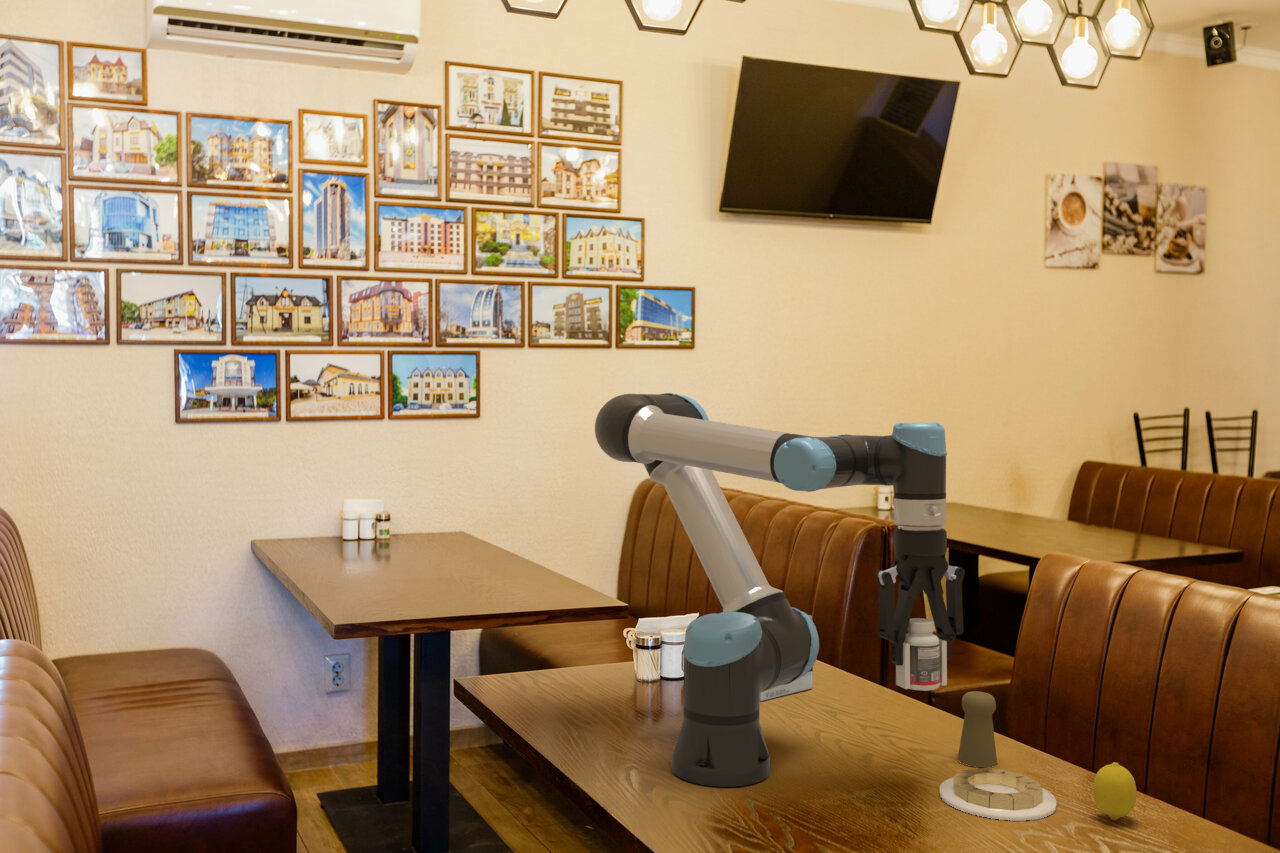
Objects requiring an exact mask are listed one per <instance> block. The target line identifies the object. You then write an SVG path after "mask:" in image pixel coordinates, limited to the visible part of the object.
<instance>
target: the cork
mask: <svg viewBox="0 0 1280 853" xmlns="http://www.w3.org/2000/svg"><path fill="white" fill-rule="evenodd" d="M961 706H962V710H963V711H964V718H963V723H962V724H963V725H962V730H961V737H960V743H959V749H958V756H957V761H958V760H959V761H960V762H961V763H964V764H967V765H970V766H976V767H991V768H993V767H992V766H995V765H996V766H997V765H998V760H997V749H996V741H995V732H994V722H993V714H994V713H995V712H996V709H997V703H996V699H995V697H994V696H993V695H992V694H990V693H988V692H984V691H976V690H974V691H968V692H966V693H965V694H964V695H963V696H962V698H961ZM959 761H958V762H959ZM960 762H959V763H960ZM961 763H960V764H961ZM970 766H969V767H970ZM996 766H995V767H996Z"/></svg>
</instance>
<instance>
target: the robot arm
mask: <svg viewBox="0 0 1280 853" xmlns="http://www.w3.org/2000/svg"><path fill="white" fill-rule="evenodd" d="M594 422H595V423H594V435H595V439H596V441H597V442H596V443H597V444H598V445H599V447H600V449H601V450H602V452H604V454H606V455H607V456H608V457H610V458H611V459H613V460H616V461H619V462H623V463H624V462H625V463H636V464H637V463H638V464H642V465H643V466H644V468H645V470H646V472H647V474H648V476H649V478H650V479H651V481H652V482H655V483H657V484H661V485H662V486H663V487H664V489H665V491H666V493H667V495H668V497H669V500H670V502H671V503H672V506H673V508H674V510H675V513H677V516H678V518H679V520H680V522H681V524H682V526H683V528H684V531H685V533H686V535H687V536H688V540H689V541H690V543H691V544H692V547H693V549H694V550H695V553H696V555H697V557H698V559H699V562H700V563H701V565H702V567H703V569H704V572H705V574H706V576H707V578H708V579H709V582H710V585H711V586H712V588H713V590H714V592H715V594H716V597H717V598H718V601H719V602H720V605H721V607H722V611H721V612H719V613H715V612H714V613H713V612H711V613H709V614H704V615H702V616H699V617H697V618H695V619H694V620H692V621H691V622H690V623H689V624H688V625H687V626H686V629H685V635H684V636H685V637H684V643H683V647H682V648H683V650H682V651H683V718H682V722H681V726H680V728H679V732H678V733H677V734H678V735H677V737H676V740H675V743H674V745H673V749H672V752H671V764H670V765H671V766H670V767H671V772H672V773H673V775H675V776H677V777H678V778H680V779H682V780H684V781H687V782H690V783H692V784H697V785H701V786H702V785H703V786H710V787H720V788H721V787H722V788H724V787H726V788H727V787H728V788H729V787H743V786H750V785H753V784H757V783H759V782H760V783H761V781H764V780H766V779H767V778H768V777H769V776H770V773H771V756H770V753H769V749H768V747H767V744H766V740H765V736H764V733H763V729H762V726H761V722H760V706H761V705H760V704H761V703H760V702H761V701H760V692H763V691H766V690H769V689H771V688H774V687H777V686H780V685H786V684H790V683H792V682H793V681H795V680H797V679H798V678H800V677H802V676H804V675H805V674H806V673H808V672H809V671H810V670H811V668H812V667H814V665H815V663H816V661H817V658H818V654H819V650H820V639H819V634H818V630H817V627H816V625H815V623H814V622H813V621H812V620H811V619H810V617H809V616H808V615H809V614H808V613H806V612H804V611H803V610H802V611H801V610H800V609H798V608H796V607H792V606H791V604H790V602H789V600H788V599H787V597H786V594H785V593H784V591H783V590H782V589H778V588H775V587H773V586H772V585H770V584H769V582H768V580H767V578H766V575H765V574H764V572H763V570H762V567H761V566H760V564H759V562H758V560H757V558H756V555H755V554H754V552H753V550H752V548H751V545H750V543H749V541H748V540H747V537H746V535H745V534H744V532H743V529H742V528H741V526H740V524H739V522H738V520H737V518H736V516H735V514H734V512H733V510H732V508H731V506H730V503H729V502H728V500H727V498H726V496H725V494H724V492H723V490H722V488H721V487H720V484H719V483H718V480H717V478H716V476H715V475H714V472H713V471H715V472H719V473H724V474H731V475H737V476H742V477H745V478H746V477H747V478H752V479H757V480H758V479H759V480H762V481H768V482H774V483H779V484H782V485H783V486H784V487H786V488H787V489H789V490H792V491H796V492H808V493H810V492H816V491H819V490H825V489H826V490H827V489H834V488H842V487H848V486H849V487H851V486H885V487H888V486H892V488H893V489H892V490H893V524H895V525H896V526H897V527H896V528H895V529H894V530H893V551H894V555H895V556H894V557H895V558H894V561H893V564H892V567H890V568H888V569H885V570H877V571H876V572H875V576H876V577H875V578H876V580H877V584H878V621H877V622H878V627H877V628H878V630H877V633H878V636H879V637H880V638H883V639H885V640H887V641H889V642H890V651H891V652H890V661H891V663H892V664H893V665H895V686H898V687H900V688H902V689H905V690H909V689H910V644H908V643H906V642H904V641H905V638H906V634H908V631H907V629H908V625H909V621H910V619H911V615H912V611H913V607H914V602H915V599H917V597H918V594H919V592H923V593H924V594H925V595H926V598H927V601H928V605H929V609H930V613H931V617H932V620H933V621H934V628H935V629H934V630H935V632H936V636H937V637H938V638H939V643H940V644H939V649H940V686H943V687H944V686H948V668H947V667H948V663H947V662H950V661H951V659H952V642H954V641H955V640H956V636H958V635H959V636H960V635H961V636H962V635H963V634H964V607H963V586H962V585H963V580H964V578H965V577H964V576H965V574H966V571H965V568H963V567H958V566H955V565H949V563H948V560H947V559H946V555H947V554H946V553H947V552H948V547H947V546H948V540H947V539H948V537H947V536H948V535H947V534H948V532H947V530H946V529H945V528H943V527H944V526H945V525H946V524H947V455H948V451H947V443H946V433H945V431H946V430H945V428H944V426H943V424H941V423H939V422H937V421H935V422H933V421H931V422H925V421H924V422H923V421H921V422H919V421H918V422H916V421H915V422H910V421H909V422H897V423H896V422H895V424H894V425H893V428H892V432H891V434H889V435H860V434H859V435H857V434H855V435H853V434H838V435H828V436H827V437H826V436H821V437H820V436H811V435H810V436H809V435H804V434H798V433H797V434H796V433H790V432H783V431H778V430H777V431H776V430H771V429H763V428H757V427H750V426H745V425H744V426H743V425H738V424H732V423H726V422H721V421H719V422H718V421H714V420H713V421H712V420H710V419H709V416H708V414H707V412H706V411H705V409H704V408H703V407H702V406H701V404H699V403H698V402H697V401H696V400H695V399H693V398H692V397H689V396H686V395H682V394H678V393H671V392H666V393H664V392H663V393H658V394H657V393H656V394H655V393H654V394H653V393H650V394H648V393H647V394H646V393H645V394H644V393H624V394H620V395H617V396H615V397H612V398H611V399H609V400H608V401H607V402H606V403H604V405H603V406H602V407H601V408H600V410H599V411H598V413H597V415H596V419H595V421H594ZM896 577H897V579H898V580H899V581H900V582H899V587H898V590H897V594H898V597H897V601H896V600H895V598H896V595H895V594H896V593H895V590H896V589H895V583H896V581H897V580H896ZM943 577H945V600H944V590H943V586H942V580H943ZM895 601H896V605H895ZM945 601H946V602H945ZM945 603H946V604H945ZM910 690H911V689H910Z"/></svg>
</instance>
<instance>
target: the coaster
mask: <svg viewBox="0 0 1280 853" xmlns="http://www.w3.org/2000/svg"><path fill="white" fill-rule="evenodd" d="M974 786H975V787H976V788H979V789H982V790H986V791H990V792H997V793H1017V792H1021V791H1019V790H1017V789H1015V788H1011V787H1007V786H1004V785H995V784H980V785H974ZM1042 790H1043V802H1042V803H1040V804H1039V805H1037V806H1035V807H1034V808H1029V809H1021V810H1004V809H993V808H987V807H983V806H980V805H976V804H972V803H969V802H966V801H965V800H963V799H962V798H960V797H958V796H957V795H955V794H954V788H953V777H950V778H948V779H945V780H944V781H943V782H942V783H940V785H939V797H940V799H941V798H942V799H941V800H942V801H943V802H944V803H945V804H946V803H947V804H946V805H948V806H949V805H950V806H949V807H951V806H952V807H951V808H953V807H954V808H953V809H955V808H956V809H955V810H957V809H958V810H957V811H959V810H961V811H960V812H962V811H963V812H962V813H965V812H966V813H965V814H968V813H970V814H969V815H971V814H972V815H971V816H975V815H977V816H976V817H979V816H982V817H981V818H983V817H987V818H986V819H989V818H991V819H990V820H995V819H999V820H998V821H1004V820H1008V821H1007V822H1027V821H1026V820H1030V821H1036V820H1041V819H1044V817H1045V818H1048V817H1050V816H1051V814H1052V815H1053V814H1055V812H1056V811H1057V799H1056V797H1055V796H1054V795H1053V794H1052V793H1051V792H1050V791H1048V790H1047V789H1046V788H1044V787H1042ZM1049 815H1050V816H1049ZM1047 816H1048V817H1047ZM1009 820H1010V821H1009Z"/></svg>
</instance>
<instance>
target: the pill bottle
mask: <svg viewBox="0 0 1280 853" xmlns="http://www.w3.org/2000/svg"><path fill="white" fill-rule="evenodd" d="M935 630H936V629H935V625H934V621H933V619H930V618H923V617H921V618H920V617H913V618H910V621H909V625H908V629H907V633H906V638H905V641H904V642H906V643H908V644H910V690H914V691H921V692H922V691H933V690H936V689H938V688H939V687H940V686H941V685H940V649H939V644H940V643H939V637H938V635H937V634H934V633H933V632H935Z"/></svg>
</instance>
